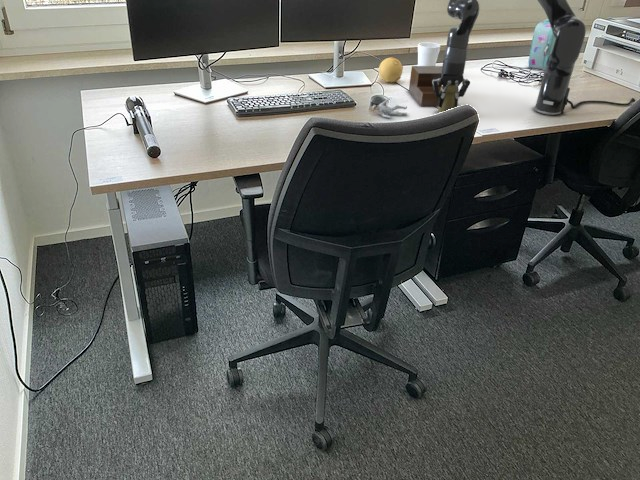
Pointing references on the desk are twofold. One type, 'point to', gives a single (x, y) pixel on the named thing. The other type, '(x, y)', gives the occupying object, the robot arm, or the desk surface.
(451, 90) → the olive pawn
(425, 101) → the step shelf
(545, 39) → the lunch box
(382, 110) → the soldier figure
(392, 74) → the stress ball
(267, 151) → the desk surface
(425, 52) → the foam cup
